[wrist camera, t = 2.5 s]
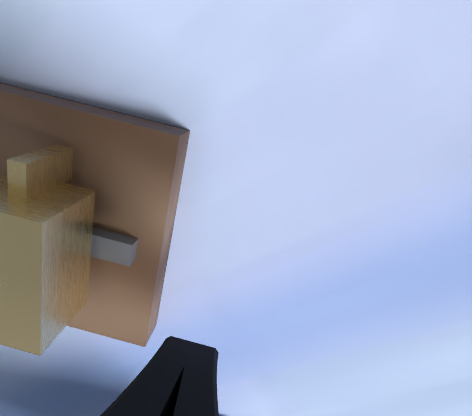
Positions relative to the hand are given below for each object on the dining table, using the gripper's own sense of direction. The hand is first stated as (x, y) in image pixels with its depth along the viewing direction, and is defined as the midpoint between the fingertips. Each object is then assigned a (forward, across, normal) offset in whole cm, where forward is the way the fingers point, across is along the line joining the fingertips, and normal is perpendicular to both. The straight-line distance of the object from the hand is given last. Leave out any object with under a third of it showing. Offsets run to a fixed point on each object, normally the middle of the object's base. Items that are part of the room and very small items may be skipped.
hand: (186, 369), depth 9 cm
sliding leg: (+5, +6, -1) cm, 8 cm away
